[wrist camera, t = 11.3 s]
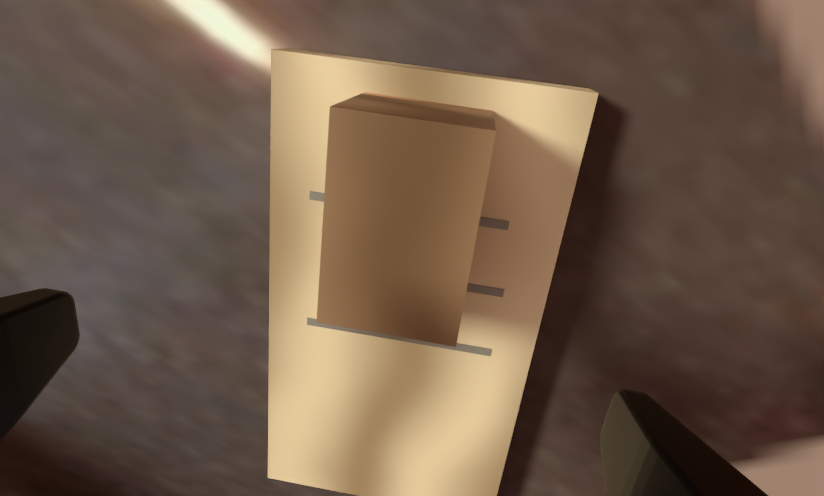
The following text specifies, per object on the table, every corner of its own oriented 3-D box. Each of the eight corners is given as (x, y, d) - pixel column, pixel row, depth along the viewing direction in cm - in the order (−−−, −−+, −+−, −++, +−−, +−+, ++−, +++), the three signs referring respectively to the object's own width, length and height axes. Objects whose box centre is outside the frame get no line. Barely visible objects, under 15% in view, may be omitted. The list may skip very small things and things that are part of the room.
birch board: (280, 452, 24) (267, 478, 23) (288, 48, 17) (271, 49, 16) (489, 493, 23) (490, 522, 22) (589, 88, 16) (599, 93, 15)
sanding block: (349, 265, 18) (316, 322, 14) (364, 92, 16) (329, 106, 12) (460, 284, 18) (455, 346, 14) (492, 110, 16) (496, 131, 12)
